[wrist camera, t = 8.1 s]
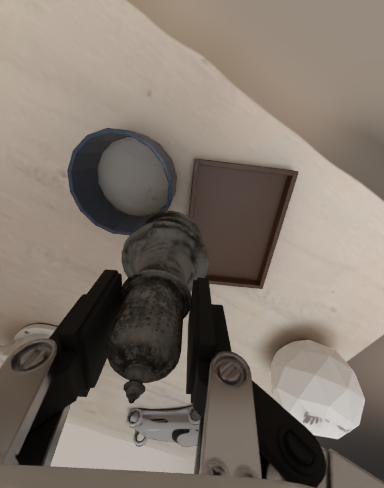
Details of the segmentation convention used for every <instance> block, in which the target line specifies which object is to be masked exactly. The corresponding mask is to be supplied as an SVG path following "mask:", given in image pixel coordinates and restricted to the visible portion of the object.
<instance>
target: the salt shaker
mask: <svg viewBox="0 0 384 488" xmlns="http://www.w3.org/2000/svg"><path fill="white" fill-rule="evenodd" d="M122 265H123V268H124V272H125V273H126V275H127V277H128V279H127V280H126V281H125V283H124V284H123V286H122V289H121V303H122V307H121V310H120V312H119V314H118V316H117V318H116V321H115V323H114V325H113V327H112V329H111V331H110V334H109V336H108V339H107V343H106V355H107V358H108V361H109V363H110V366H111V367H112V368H113V369H114V371H115V372H117V373H118V374H119V375H121V376H122V377H124V378H125V379H128V380H130V381H129V382H127V383H126V384H125V385H124V390H125V392H126V396H127V398H128V399H129V403H133V402H134V401H135V400H136V399H138V398H139V396H140V395H141V394H143V393H144V392H145V386H144V385H143V384H142V383H149V382H153V381H158V380H160V379H162V378H164V377H166V376H167V375H168V374H169V373H170V372H171V371H172V370H173V369H174V368H175V367H176V365H177V363H178V361H179V358H180V353H181V344H182V327H183V319H184V318H185V317H186V316H187V314H188V312H189V311H190V306H191V293H190V292H191V291H192V287H193V280H197V278H198V277H201V278H205V276H206V274H207V270H208V266H209V259H208V252H207V250H206V247H205V245H204V243H203V241H202V235H201V232H200V230H199V227H198V226H197V225H196V223H195V222H194V221H193V220H192V219H191V218H189V217H188V216H187V215H184V214H182V213H180V212H175V211H162V212H159V213H156V214H154V215H152V216H151V217H149V218H148V219H147V220H146V221H145V222H144V224H143V225H142V226H141V227H139V228H138V229H137V230H135V231H134V232H133V233H132V234H131V235H130V236H129V238H128V239H127V240H126V242H125V244H124V247H123V250H122Z"/></svg>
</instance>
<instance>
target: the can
mask: <svg viewBox="0 0 384 488" xmlns="http://www.w3.org/2000/svg"><path fill="white" fill-rule="evenodd" d="M125 137H133V138H135V139H137V140H139V141H140V142H142V143H144V144H145V145H147V146H149V147H150V149H151V150H152V151H153V152H154V154H155V155H156V156H157V157H158V159H159V160H160V161H161V162H162V164H163V167H164V170H165V173H166V176H167V179H168V182H169V187H168V202H167V204H166V205H165V206H164V207H162V208H161V209H160V210H159V211H158V212H156V213H159V212H162V211H167V210H168V208H169V206H170V204H171V202H172V200H173V197H174V195H175V192H176V180H177V175H176V172H175V168H174V165H173V162H172V159H171V158H170V156H169V155H168V154H167V152H166V151H165V150H164V149H163V147H162V146H161V145H160V144H159V143H157V142H155V141H153V140H152V139H150V138H148V137H147V136H145V135H142V134H139V133H135V132H132V131H127V130H119V129H111V128H106V129H103V130H100V131H98V132H95V133H92V134H89V135H87V136H86V137H85V138H84V139H83V140H82V141H81V142H80V144H79V145H78V146H77V147H76V148H75V149H74V150H73V153H72V156H71V160H70V163H69V167H68V179H69V186H70V192H71V194H72V196H73V198H74V200H75V202H76V204H77V206H78V208H79V209H80V211H81V212H82V213H83V214H84V215H85V216H86V217H87V218H88V219H89V220H90V221H91V222H92V223H94V224H95V225H96V226H98V227H100V228H102V229H105V230H107V231H109V232H111V233H113V234H123V235H131V234H132V233H133V232H134V231H135V230H137V229H138V228H139V227H141V226H142V225H143V224H144V222H145V221H146V220H147V219H148V218H149V217H151V216H152V215H154V214H156V213H154V214H150V215H147V216H143V217H141V216H132V215H128V214H126V213H124V212H122V211H120V210H118V209H116V208H115V207H114V206H113V205H112V204H111V203H110V202H109V201H108V200H107V199H106V198H105V197H104V194H103V192H102V190H101V188H100V186H99V184H98V174H97V166H98V163H99V160H100V157H101V154H102V152H103V151H104V150H105V149H106V148H107V147H108V146H109V145H110V144H111V143H112V142H113V141H116V140H119V139H122V138H125Z"/></svg>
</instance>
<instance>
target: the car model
mask: <svg viewBox="0 0 384 488" xmlns="http://www.w3.org/2000/svg"><path fill="white" fill-rule="evenodd" d="M130 420H131V421H132V422H130ZM199 421H200V415H199V414H198V413H197V412H196V411H195V409H194V408H193V406H191V407H188V408H183V409H178V410H166V411H152V410H141V409H138V408H135V409H132V410H131V411H130V412H129V413H128V415H127V420H126V422H127V425H128V426H129V427H130V428H134V429H135V433H134V437H133V441H134V444H135V445H136V446H139V447H140V446H143V445H144V444H145V443H146V441H147V439H148V438H150V439H154V440H159V441H166V442H176V443H178V444H179V445H181V446H182V447H192V446H197V439H198V430H199ZM139 433H140V434H142V435H143V436H145V437H144V439H143V440H142V441H137V436H138V434H139Z"/></svg>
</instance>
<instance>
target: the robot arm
mask: <svg viewBox="0 0 384 488" xmlns="http://www.w3.org/2000/svg"><path fill="white" fill-rule="evenodd" d="M121 289H122V276H121V274H118V271H117V270H104V272H103V273H102V274H101V276H100V277H99V278H98V280H97V281H96V282H95V284H94V285H93V287H92V288H91V289H90V291H89V292H88V293H87V294H84V295H82V296H81V297H80V298H79V300H78V301H77V302H76V304H75V305H74V306H73V308H72V309H71V310H70V311H69V313H68V314H67V315H66V317H65V318H64V319H63V321H62V322H61V323H60V324H59V326H58V327H54V326H51V325H45V324H34V325H29V326H26V327H24V328H23V329H21V330H20V331H19V332H18V333H17V334H16V336H15V337H14V340H13V344H12V345H7V346H5V347H4V346H0V364H1V365H0V488H384V482H382V481H381V480H379V479H377V478H376V477H374V476H373V475H371V474H370V473H368V472H366V471H365V470H364V469H362V468H360V467H359V466H357V465H356V464H354V463H352V462H351V461H349V460H348V459H346V458H345V457H343V456H342V455H340V454H338V453H337V452H335V451H334V450H332V449H330V450H329V451H327V450H326V449H324V448H323V447H321V446H320V444H319V442H318V441H317V440H316V438H315V437H314V435H313V434H312V433H311V432H310V431H309V430H308V429H307V428H306V427H305V426H304V425H303V424H302V423H300V422H299V421H298V420H297V419H296V418H295V417H294V416H292V415H291V414H290V413H289V412H288V411H287V410H285V409H284V408H283V407H282V406H281V405H280V404H279V403H277V402H276V401H275V400H274V399H273V398H272V397H271V396H269V395H268V394H267V393H266V392H265V391H264V390H262V389H261V388H260V387H259V386H258V385H257V384H256V383H254V382H253V381H252V378H251V372H250V368H249V366H248V364H247V362H246V361H245V360H244V359H243V358H242V357H241V356H239V355H238V354H236V353H233V352H231V347H230V341H229V336H228V331H227V325H226V320H225V315H224V310H223V306H222V305H213V304H211V296H210V288H209V279H208V278H201V277H198V278H197V280H193V287H192V295H191V306H190V313H189V322H188V350H187V383H186V394H191V403H193V408H194V409H195V411H196V412H197V413H198V414H199V415H200V421H199V430H198V439H197V449H196V458H195V467H194V474H182V473H164V472H146V471H127V470H107V469H89V468H87V469H86V468H68V467H50V465H51V461H52V458H53V456H54V453H55V449H56V447H57V444H58V441H59V437H60V434H61V432H62V429H63V426H64V423H65V420H66V417H67V414H68V411H69V408H70V404H71V403H73V402H74V401H76V399H77V397H78V396H80V397H87V395H88V392H89V390H90V388H94V387H95V385H96V383H97V381H98V379H99V376H100V374H101V371H102V369H103V366H104V364H105V362H106V359H107V355H106V343H107V339H108V336H109V334H110V331H111V329H112V327H113V325H114V323H115V321H116V318H117V316H118V314H119V312H120V310H121V307H122V303H121Z"/></svg>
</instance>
